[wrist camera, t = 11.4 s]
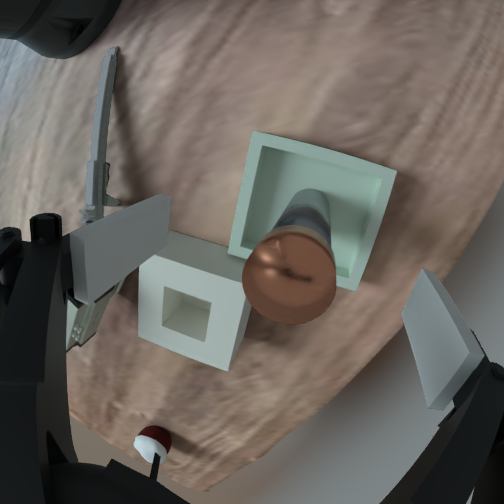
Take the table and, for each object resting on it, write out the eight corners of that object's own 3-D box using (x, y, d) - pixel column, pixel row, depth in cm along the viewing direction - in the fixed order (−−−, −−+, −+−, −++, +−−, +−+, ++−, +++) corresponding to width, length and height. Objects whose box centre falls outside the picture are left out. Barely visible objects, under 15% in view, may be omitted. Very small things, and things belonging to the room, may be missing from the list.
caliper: (123, 220, 32) (87, 237, 27) (116, 220, 33) (80, 236, 27) (119, 46, 25) (82, 35, 20) (112, 49, 26) (74, 39, 20)
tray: (259, 131, 26) (252, 130, 23) (390, 168, 24) (396, 171, 22) (235, 244, 30) (227, 253, 28) (354, 279, 28) (355, 291, 26)
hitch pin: (293, 180, 26) (252, 226, 12) (337, 193, 25) (349, 254, 12) (282, 223, 27) (234, 309, 14) (325, 236, 27) (318, 334, 13)
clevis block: (171, 230, 31) (140, 249, 26) (263, 257, 30) (248, 285, 24) (164, 308, 35) (138, 336, 29) (243, 337, 33) (227, 371, 28)
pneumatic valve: (91, 291, 38) (31, 336, 27) (116, 226, 33) (40, 265, 22) (119, 318, 38) (64, 370, 27) (151, 256, 33) (81, 307, 22)
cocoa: (145, 432, 49) (116, 476, 38) (137, 414, 46) (103, 460, 36) (189, 448, 46) (161, 498, 36) (183, 431, 44) (151, 484, 33)
